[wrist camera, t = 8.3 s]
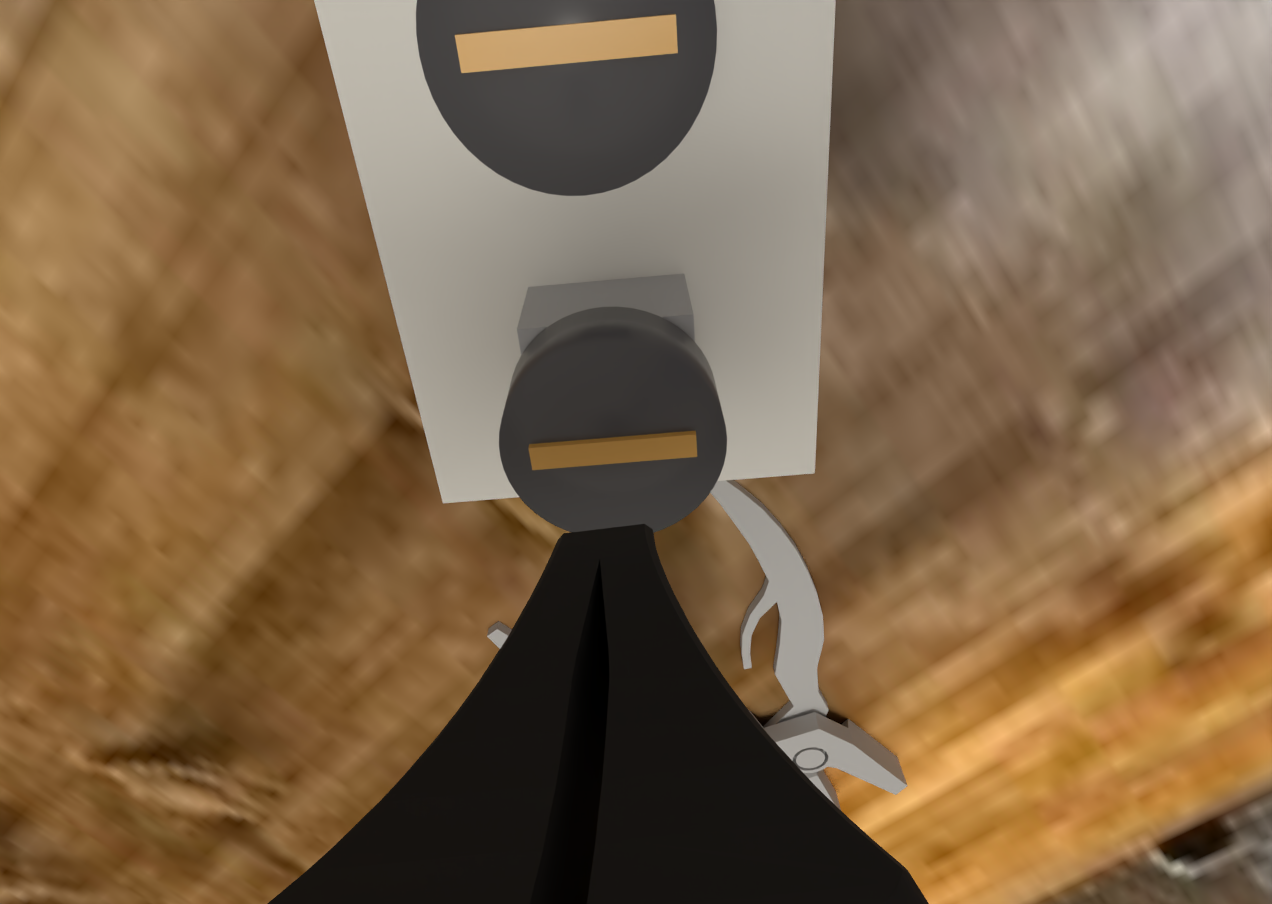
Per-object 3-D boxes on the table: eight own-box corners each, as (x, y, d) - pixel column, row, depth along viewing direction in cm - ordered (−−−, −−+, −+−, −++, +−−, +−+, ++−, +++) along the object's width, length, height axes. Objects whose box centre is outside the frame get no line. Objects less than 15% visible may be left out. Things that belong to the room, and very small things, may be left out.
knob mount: (849, -921, 11) (957, -1326, 7) (803, 444, 22) (837, 530, 19) (135, -836, 11) (-76, -1192, 8) (452, 472, 23) (424, 562, 19)
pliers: (725, 484, 22) (989, 748, 28) (718, 454, 23) (971, 711, 29) (477, 660, 25) (762, 861, 31) (484, 624, 26) (756, 823, 32)
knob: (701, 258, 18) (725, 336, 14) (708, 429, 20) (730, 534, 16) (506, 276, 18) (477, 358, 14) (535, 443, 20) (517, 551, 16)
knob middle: (687, -127, 14) (714, -161, 10) (697, 135, 16) (721, 185, 13) (441, -103, 14) (379, -128, 10) (486, 155, 16) (448, 210, 13)
